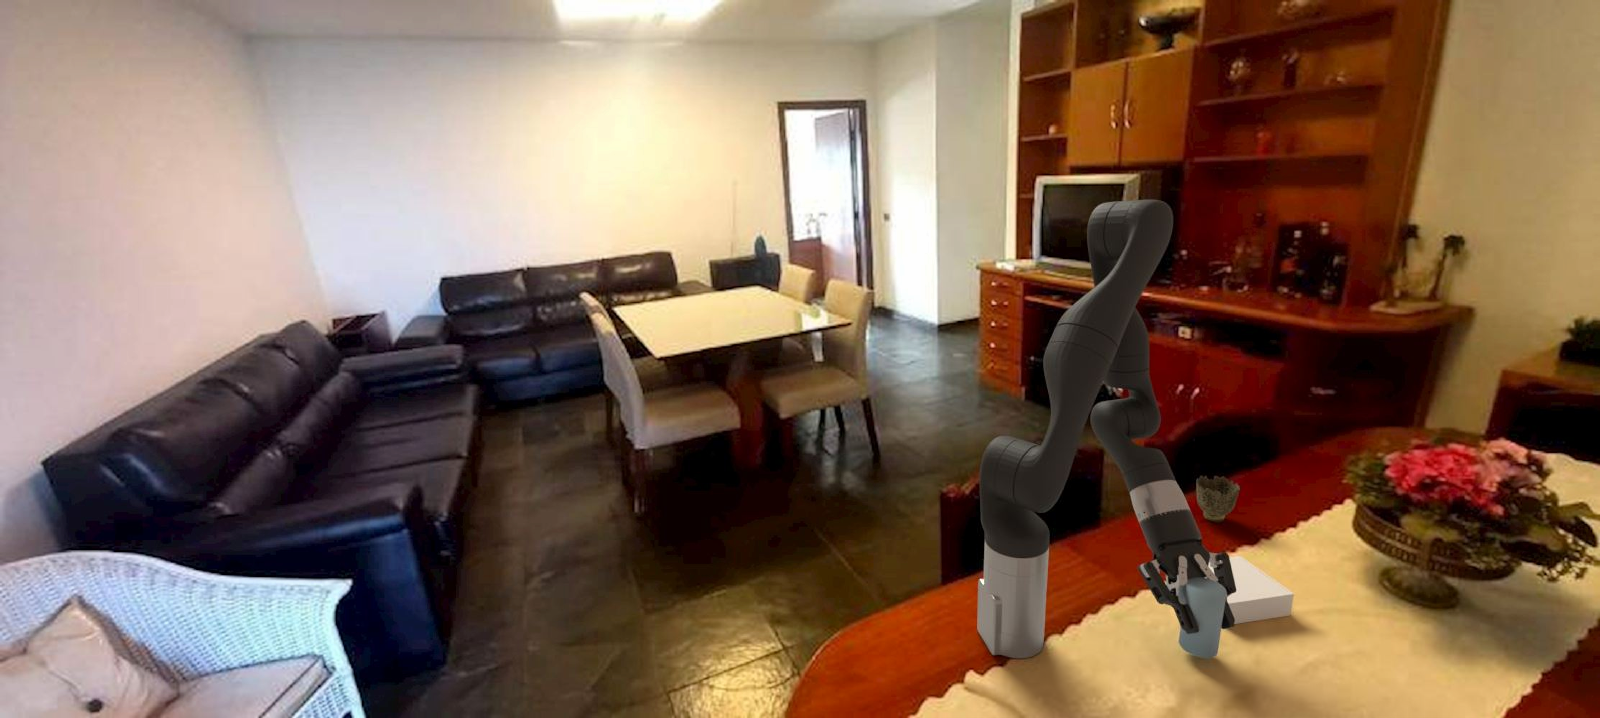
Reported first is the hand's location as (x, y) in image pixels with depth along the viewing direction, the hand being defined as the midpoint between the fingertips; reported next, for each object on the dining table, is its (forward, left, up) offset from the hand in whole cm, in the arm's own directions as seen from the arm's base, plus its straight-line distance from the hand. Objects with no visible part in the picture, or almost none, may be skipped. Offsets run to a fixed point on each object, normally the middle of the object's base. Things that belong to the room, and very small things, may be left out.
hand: (1210, 629), depth 96 cm
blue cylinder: (0, +2, -4) cm, 5 cm away
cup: (+30, +36, -6) cm, 47 cm away
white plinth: (+14, +12, -6) cm, 20 cm away
